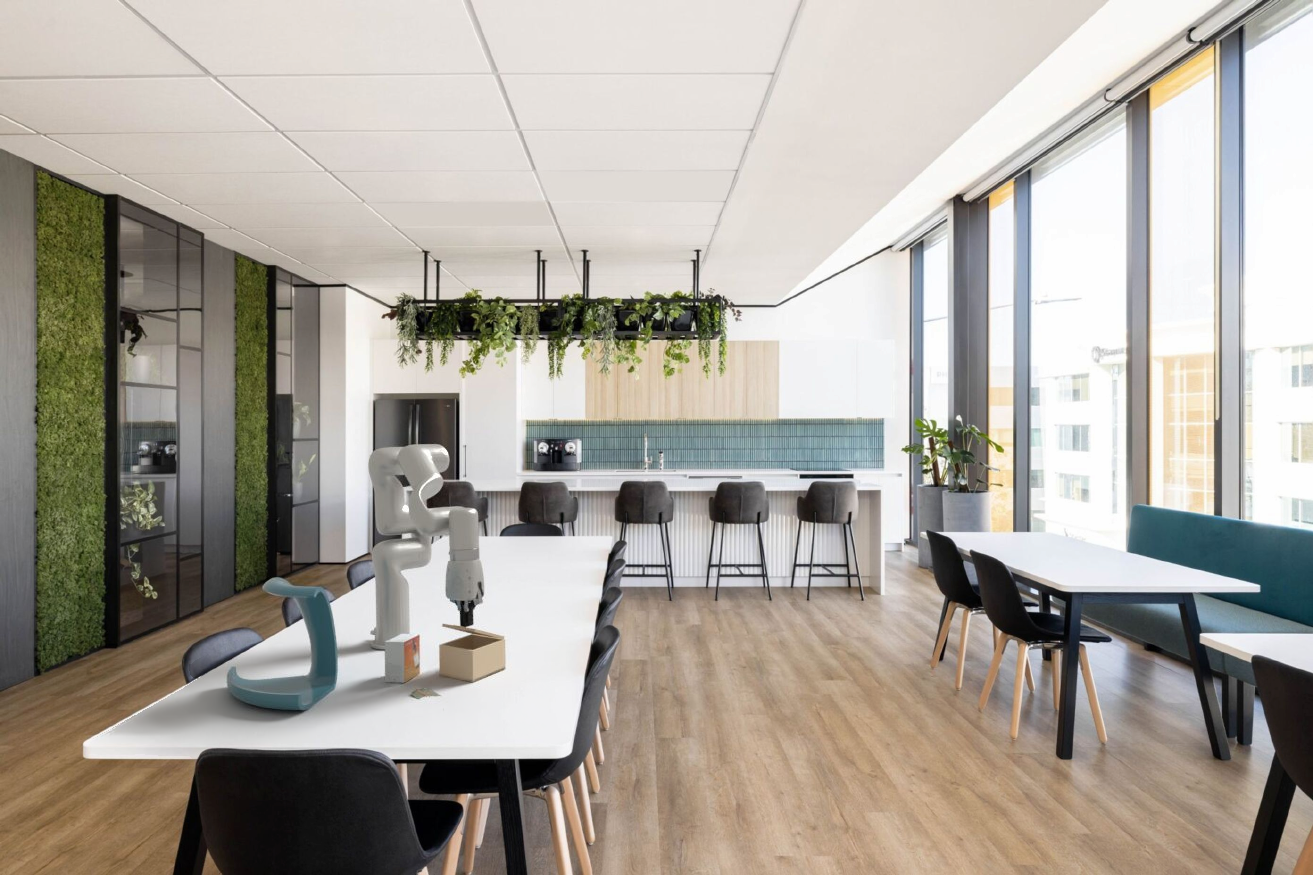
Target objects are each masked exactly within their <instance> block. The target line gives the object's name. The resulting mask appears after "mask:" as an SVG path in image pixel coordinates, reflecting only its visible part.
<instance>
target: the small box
mask: <svg viewBox="0 0 1313 875" xmlns="http://www.w3.org/2000/svg"><path fill="white" fill-rule="evenodd" d="M420 640H421V639H420V634H419V633H418V634H415V633H414V634H413V633H410V634H400V635H398V636H396V637H394V638H392V639H390V640H388V641H385V649H384V682H385V683H398V684H401V683H402V684H405V683H407V682H408V681H409V680H411V679H413V678H414V677H416V676H418V675H420V674H421V670H420V669H421V667H420V665H421V664H420V663H421V660H420V658H421V657H420V655H421V654H420V651H421V650H420V646H421V644H420Z"/></svg>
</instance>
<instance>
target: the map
mask: <svg viewBox="0 0 1313 875" xmlns="http://www.w3.org/2000/svg"><path fill="white" fill-rule="evenodd" d="M410 694H411V695H412V696H413V697H414V698H416V699H417V700H421V698H424V697H425V698H427V697H428V698H430V697H442V695H441V694H439V693H437V692H436V691H433V690H432V689H430V688H429V687H427V688H417V689H415V690H413V691H411V693H410Z"/></svg>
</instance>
